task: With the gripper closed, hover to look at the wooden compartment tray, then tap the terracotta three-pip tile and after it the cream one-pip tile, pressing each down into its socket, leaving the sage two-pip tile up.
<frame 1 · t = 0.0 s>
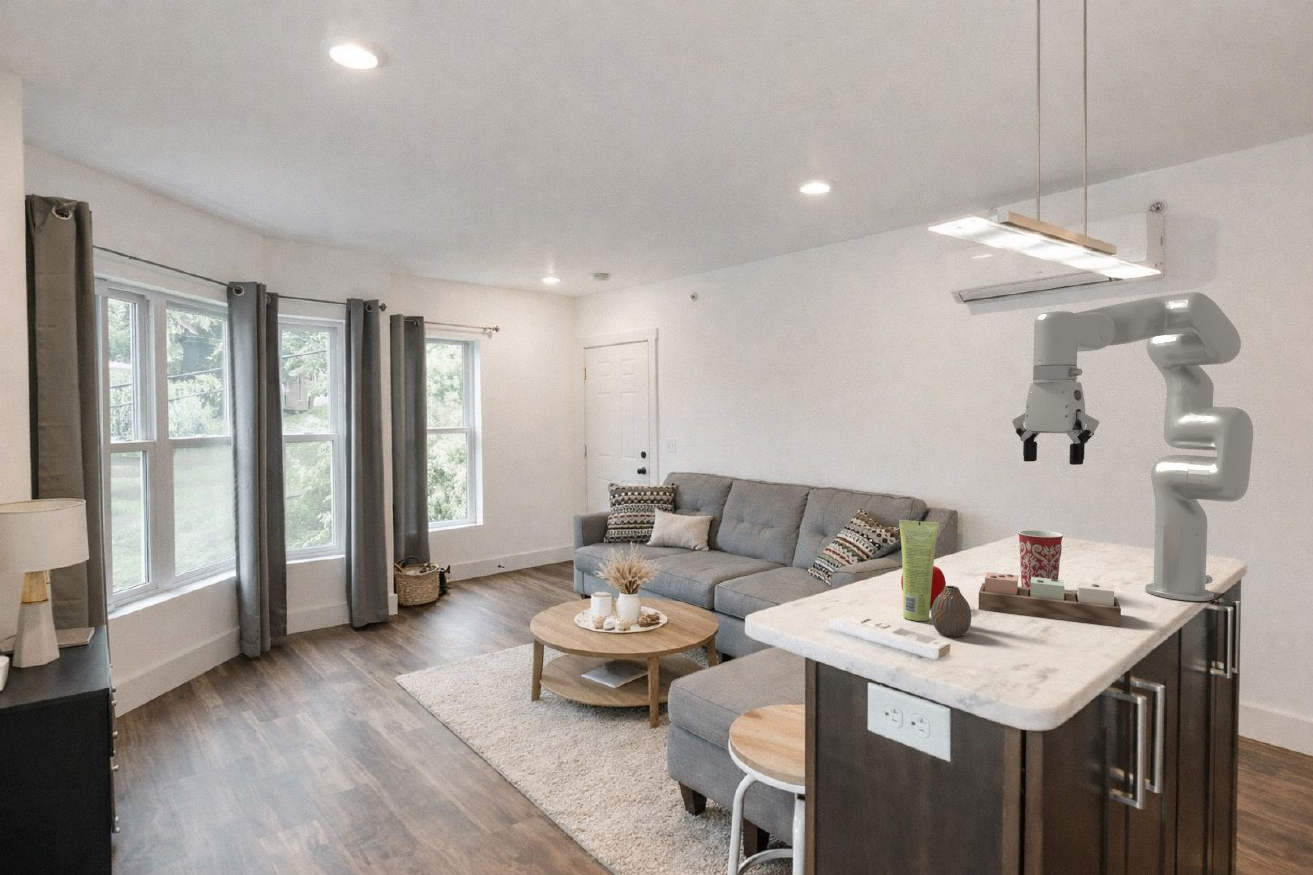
hand: (1052, 462, 142), 31 cm above the countertop, fingers open, 9 cm apart
tile one: (1095, 593, 144), point 5 cm above the countertop, slide at 0.0 cm
fruit: (922, 604, 155), on the countertop
vase: (950, 634, 134), on the countertop
tube: (917, 619, 143), on the countertop
mug: (1043, 591, 167), on the countertop
wooden compartment tray: (1046, 611, 149), on the countertop
tile three: (1001, 583, 153), point 5 cm above the countertop, slide at 0.0 cm
tile two: (1047, 587, 149), point 5 cm above the countertop, slide at 0.0 cm
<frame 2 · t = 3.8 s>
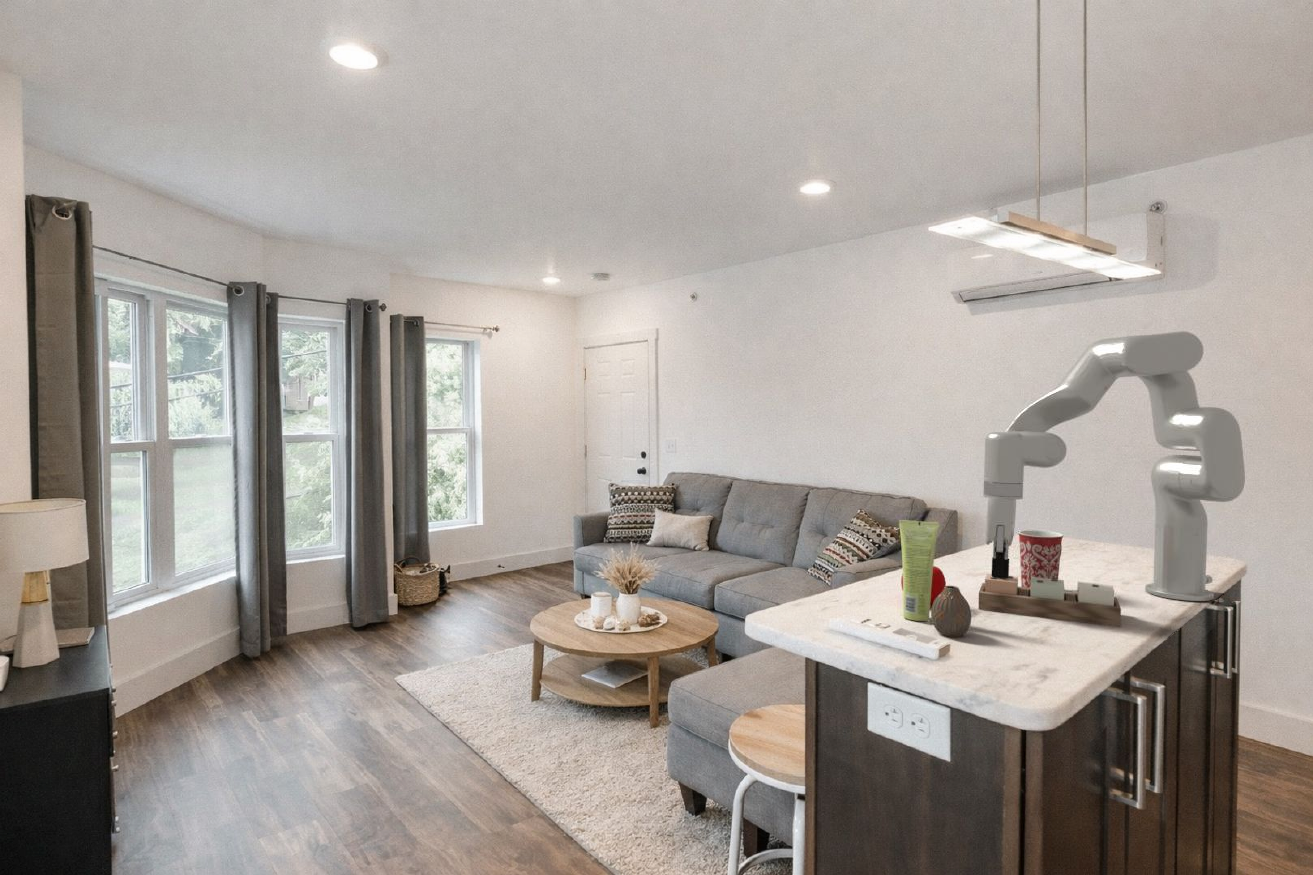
hand: (1000, 576, 152), 6 cm above the countertop, fingers closed
tile three: (1001, 584, 153), point 5 cm above the countertop, slide at -0.3 cm, touching gripper
everything else where it was.
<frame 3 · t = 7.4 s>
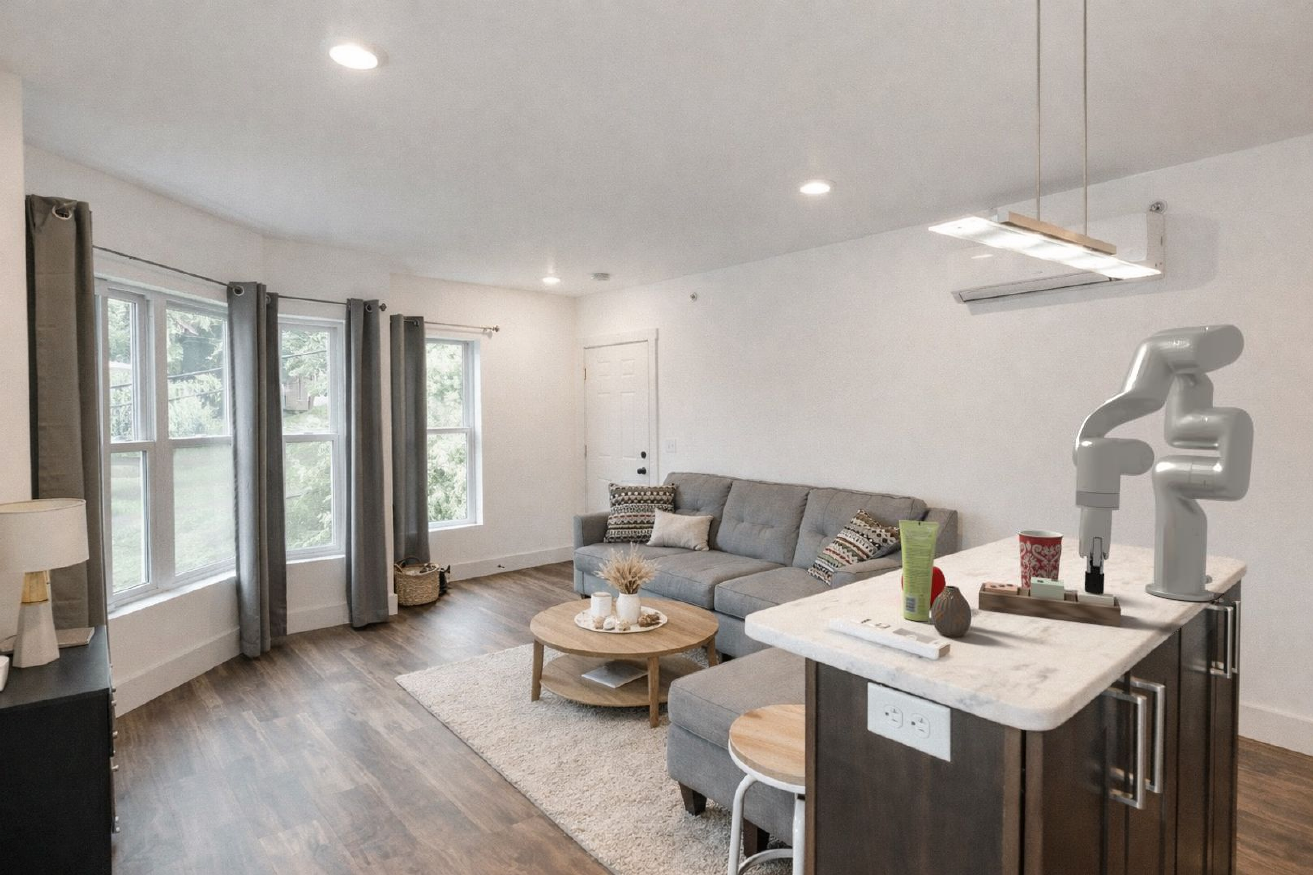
hand: (1093, 592, 144), 5 cm above the countertop, fingers closed
tile one: (1095, 600, 145), point 4 cm above the countertop, slide at -1.4 cm, touching gripper
tile three: (1001, 592, 153), point 3 cm above the countertop, slide at -2.1 cm
everything else where it was.
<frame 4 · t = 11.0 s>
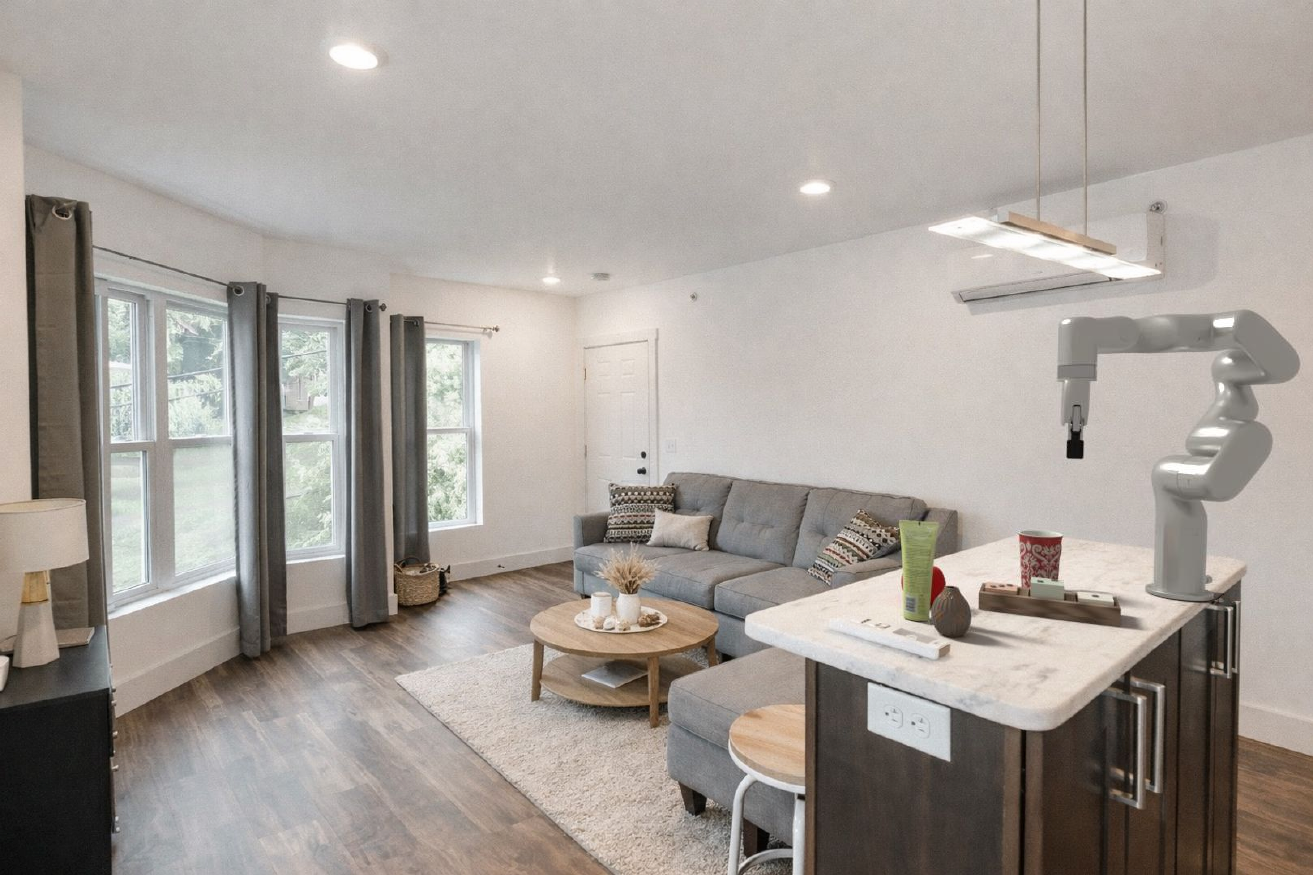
hand: (1074, 458, 157), 31 cm above the countertop, fingers closed
tile one: (1095, 603, 145), point 3 cm above the countertop, slide at -2.1 cm
everything else where it was.
at the end: tile three slide at -2.1 cm; tile one slide at -2.1 cm; tile two slide at 0.0 cm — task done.
